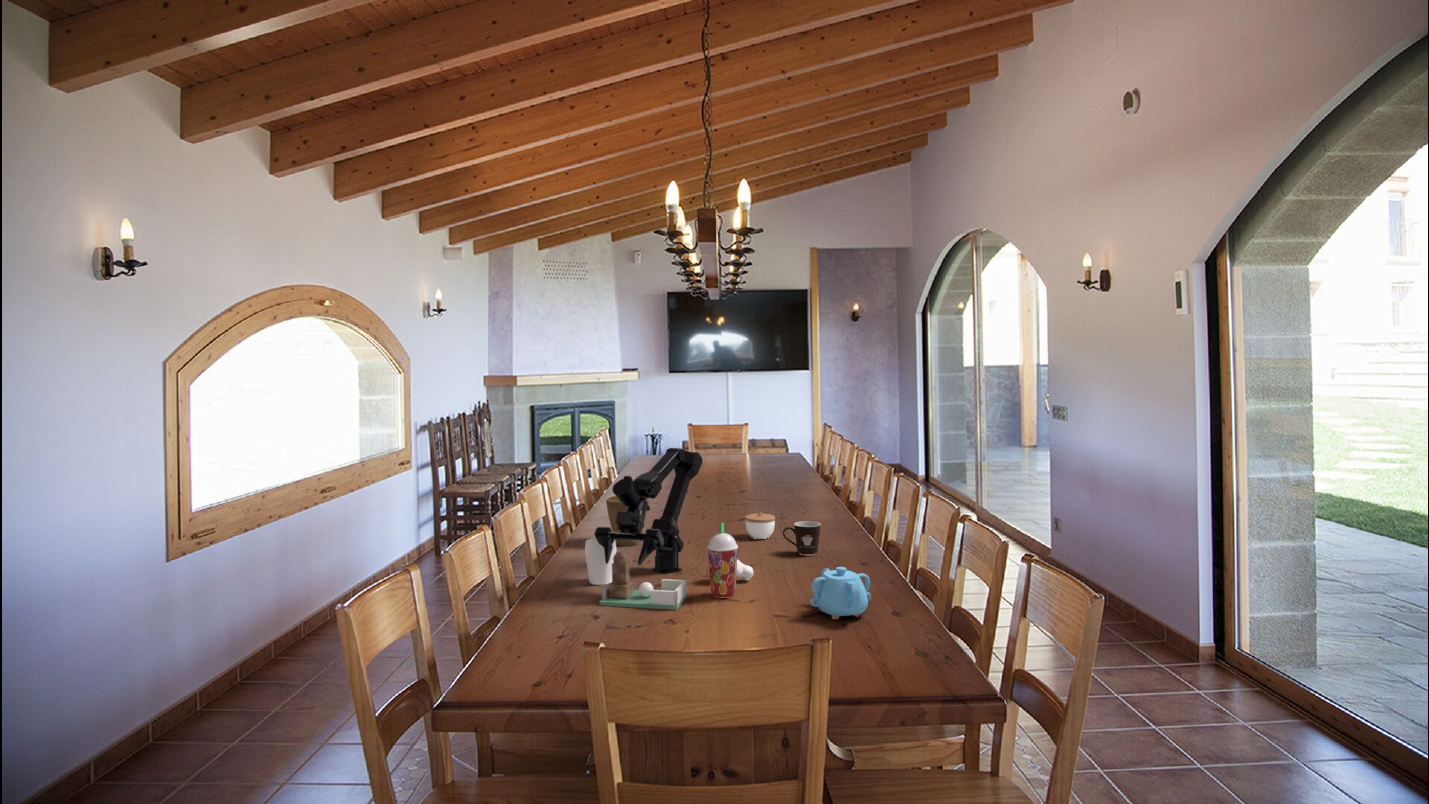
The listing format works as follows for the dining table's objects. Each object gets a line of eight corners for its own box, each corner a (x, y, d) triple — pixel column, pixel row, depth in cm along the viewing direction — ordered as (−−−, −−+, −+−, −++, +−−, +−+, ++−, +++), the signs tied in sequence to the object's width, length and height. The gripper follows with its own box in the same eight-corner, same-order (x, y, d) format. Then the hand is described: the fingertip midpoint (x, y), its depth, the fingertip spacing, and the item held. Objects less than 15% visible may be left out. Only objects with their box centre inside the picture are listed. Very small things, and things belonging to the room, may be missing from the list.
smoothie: (742, 592, 221) (741, 521, 220) (733, 601, 213) (732, 527, 212) (713, 590, 224) (713, 519, 222) (703, 598, 216) (702, 525, 215)
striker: (608, 597, 213) (608, 554, 213) (616, 590, 219) (615, 548, 218) (626, 598, 212) (626, 554, 212) (633, 591, 218) (632, 549, 217)
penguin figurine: (713, 548, 235) (754, 552, 235) (711, 577, 235) (751, 581, 235) (713, 554, 228) (755, 558, 229) (711, 583, 229) (752, 587, 229)
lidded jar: (743, 540, 282) (743, 514, 281) (747, 534, 292) (747, 508, 292) (773, 541, 280) (773, 515, 280) (776, 535, 291) (776, 509, 290)
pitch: (599, 605, 211) (599, 588, 211) (614, 591, 223) (614, 576, 222) (676, 610, 206) (676, 592, 206) (687, 596, 218) (687, 579, 218)
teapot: (888, 622, 196) (888, 574, 195) (826, 629, 191) (826, 580, 191) (852, 598, 215) (852, 555, 215) (794, 604, 211) (794, 560, 210)
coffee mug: (824, 553, 264) (825, 523, 263) (813, 558, 257) (813, 528, 256) (793, 548, 270) (793, 519, 270) (781, 554, 263) (781, 524, 262)
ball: (648, 593, 217) (648, 579, 217) (656, 597, 214) (656, 582, 214) (635, 596, 215) (635, 582, 214) (644, 600, 212) (643, 585, 211)
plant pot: (647, 548, 272) (646, 502, 271) (603, 548, 272) (602, 502, 271) (651, 538, 286) (650, 494, 286) (609, 538, 287) (609, 494, 286)
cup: (610, 587, 227) (610, 545, 227) (580, 585, 229) (580, 544, 228) (620, 578, 236) (620, 538, 235) (591, 576, 238) (591, 536, 237)
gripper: (596, 498, 223) (582, 546, 213) (660, 500, 219) (649, 549, 209) (606, 520, 231) (593, 568, 221) (668, 523, 227) (658, 571, 217)
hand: (622, 563), depth 217 cm, fingers open, 9 cm apart
